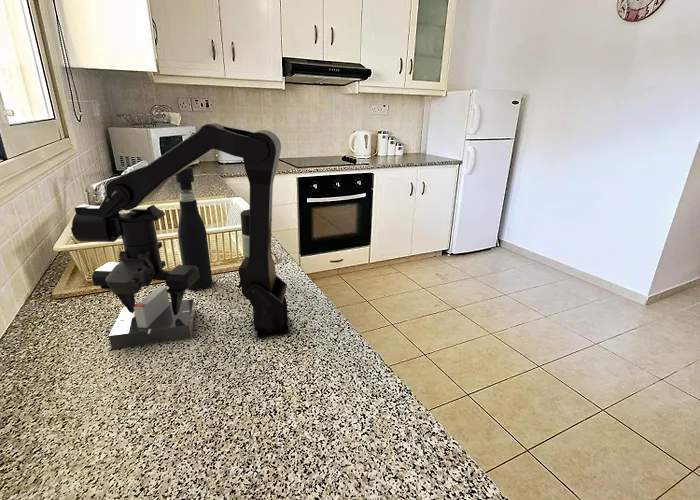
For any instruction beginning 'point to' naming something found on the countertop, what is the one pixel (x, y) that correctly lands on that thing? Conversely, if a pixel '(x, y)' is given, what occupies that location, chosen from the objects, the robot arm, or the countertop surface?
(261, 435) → the countertop surface
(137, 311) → the knob
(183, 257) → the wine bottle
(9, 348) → the countertop surface
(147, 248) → the robot arm
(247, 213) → the spray can
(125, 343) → the block
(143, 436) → the countertop surface
